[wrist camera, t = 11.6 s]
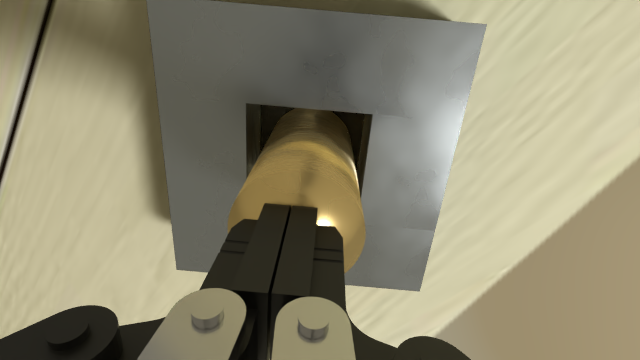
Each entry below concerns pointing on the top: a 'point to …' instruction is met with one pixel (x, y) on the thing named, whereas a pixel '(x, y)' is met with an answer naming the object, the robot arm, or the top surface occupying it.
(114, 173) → the top surface
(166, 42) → the frame
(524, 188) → the top surface
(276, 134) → the brass cylinder
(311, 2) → the top surface
